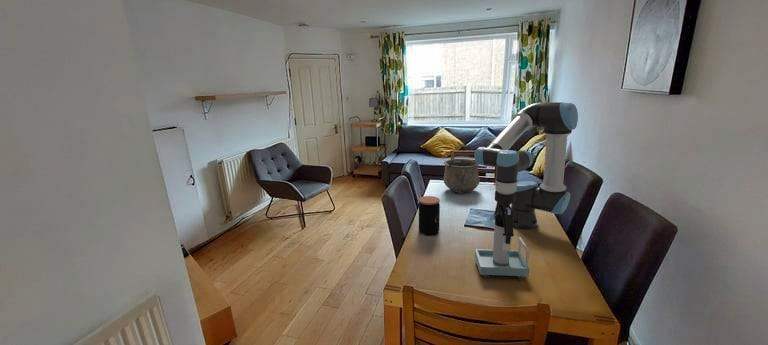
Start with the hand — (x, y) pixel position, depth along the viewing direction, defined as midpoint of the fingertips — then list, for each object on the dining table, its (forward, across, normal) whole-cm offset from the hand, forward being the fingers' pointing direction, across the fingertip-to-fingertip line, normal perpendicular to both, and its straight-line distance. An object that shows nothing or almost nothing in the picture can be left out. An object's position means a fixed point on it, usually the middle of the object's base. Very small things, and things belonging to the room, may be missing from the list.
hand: (502, 241), depth 126 cm
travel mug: (+9, 0, 0) cm, 9 cm away
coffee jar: (+13, -34, -28) cm, 46 cm away
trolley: (+13, 0, 0) cm, 13 cm away
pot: (+14, -101, -4) cm, 102 cm away
